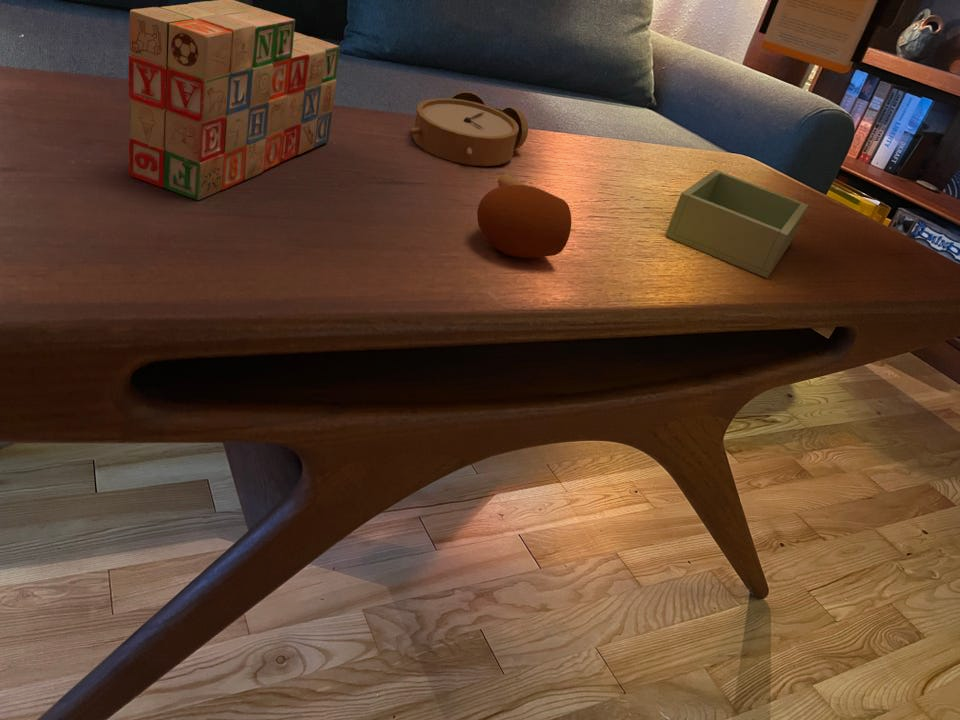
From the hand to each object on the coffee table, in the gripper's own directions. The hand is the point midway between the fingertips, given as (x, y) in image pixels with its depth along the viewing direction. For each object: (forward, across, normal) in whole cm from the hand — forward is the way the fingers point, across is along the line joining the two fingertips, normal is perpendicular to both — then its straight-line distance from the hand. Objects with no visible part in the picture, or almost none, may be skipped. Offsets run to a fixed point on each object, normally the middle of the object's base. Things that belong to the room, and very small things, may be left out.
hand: (809, 46), depth 75 cm
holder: (+19, +1, -4) cm, 19 cm away
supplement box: (+1, 0, 0) cm, 1 cm away
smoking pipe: (+19, -16, -24) cm, 35 cm away
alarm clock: (+19, -29, -8) cm, 36 cm away
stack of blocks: (+19, -37, -35) cm, 54 cm away
